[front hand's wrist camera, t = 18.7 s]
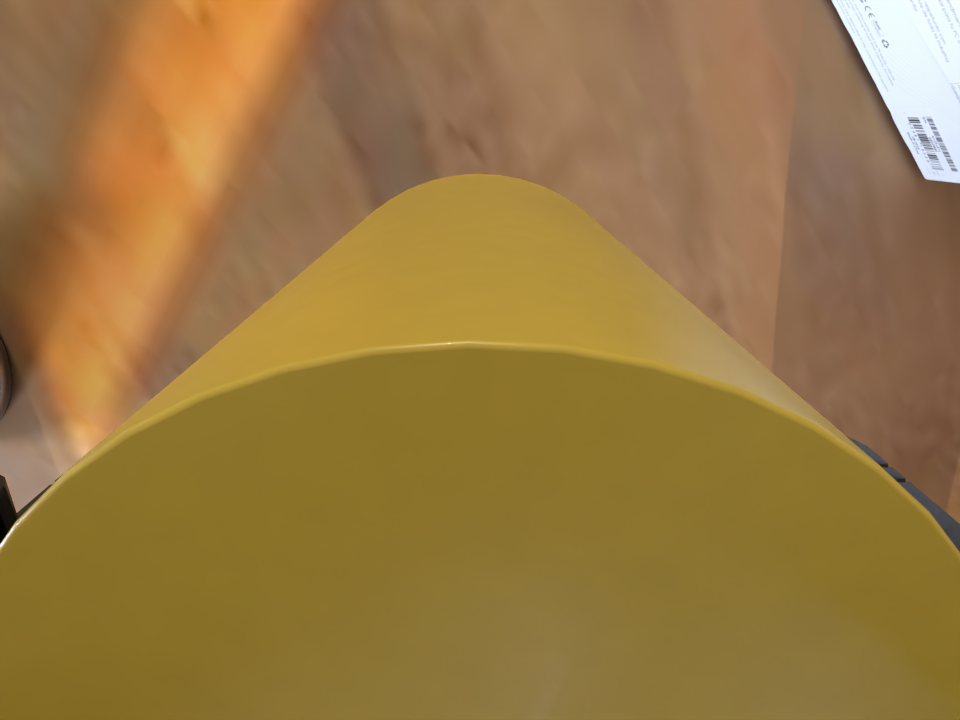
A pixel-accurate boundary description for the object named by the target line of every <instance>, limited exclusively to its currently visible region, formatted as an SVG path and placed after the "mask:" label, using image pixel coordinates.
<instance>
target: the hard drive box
mask: <svg viewBox="0 0 960 720" xmlns="http://www.w3.org/2000/svg"><path fill="white" fill-rule="evenodd" d="M832 2H833V4H834V6H835V8H836V9H837V11H838V13H839V15H840V17H841V19H842V21H843V23H844V25H845V27H846V28H847V30H848V32H849V33H850V35H851V37H852V39H853V41H854V43H855V45H856V47H857V49H858V51H859V53H860V55H861V57H862V59H863V61H864V63H865V65H866V67H867V69H868V71H869V72H870V74H871V76H872V78H873V80H874V82H875V84H876V86H877V88H878V90H879V92H880V94H881V96H882V98H883V100H884V102H885V104H886V105H887V107H888V109H889V111H890V112H891V115H892V118H893V121H894V122H895V124H896V126H897V128H898V130H899V132H900V134H901V136H902V138H903V139H904V141H905V143H906V144H907V146H908V148H909V149H910V151H911V153H912V155H913V157H914V159H915V161H916V163H917V165H918V167H919V169H920V170H921V172H922V174H923V176H924V178H925V179H928V180H936V181H945V182H953V183H960V0H832Z"/></svg>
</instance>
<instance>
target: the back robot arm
mask: <svg viewBox="0 0 960 720" xmlns="http://www.w3.org/2000/svg"><path fill="white" fill-rule="evenodd" d="M10 393H11V371H10V365H9V360H8V356H7V353H6V350H5V348H4V345H3V343H2V340H1V338H0V420H1V418H2V417H3V415H4V413H5V411H6V408H7V406H8V403H9V398H10Z"/></svg>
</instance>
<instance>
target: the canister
mask: <svg viewBox="0 0 960 720" xmlns="http://www.w3.org/2000/svg"><path fill="white" fill-rule="evenodd" d="M0 720H960V552H959V550H958V549H957V548H956V546H955V545H954V544H953V542H952V541H951V540H950V538H949V537H948V536H947V534H946V533H945V532H944V530H943V529H942V528H941V526H940V525H939V524H938V522H937V521H936V520H935V518H934V517H933V516H932V514H931V513H930V512H929V511H928V510H927V509H926V508H925V507H924V506H923V505H922V504H921V503H919V502H918V501H917V500H916V499H915V498H914V497H913V496H912V495H911V494H910V493H909V492H908V491H907V490H906V489H904V488H903V487H902V486H901V485H900V484H899V483H898V482H897V481H896V480H895V479H894V478H893V477H892V476H890V475H889V474H888V473H887V472H886V471H885V470H884V469H883V468H882V467H881V466H880V465H879V464H878V463H876V462H875V461H874V460H873V459H872V458H871V457H869V456H868V455H867V454H866V453H865V452H864V451H862V450H861V449H860V448H859V447H858V446H857V445H855V444H854V443H853V442H852V441H851V440H850V439H849V438H847V437H846V436H845V435H844V434H843V433H842V432H840V431H839V430H838V429H837V428H836V427H835V426H833V425H832V424H831V423H830V422H829V421H828V420H826V419H825V418H824V417H823V416H822V415H821V414H819V413H818V412H817V411H816V410H815V409H814V408H812V407H811V406H810V405H809V404H808V403H807V402H806V401H804V400H803V399H802V398H801V397H800V396H799V395H797V394H796V393H795V392H794V391H793V390H792V389H790V388H789V387H788V386H787V385H786V384H785V383H783V382H782V381H781V380H780V379H779V378H778V377H776V376H775V375H774V374H773V373H772V372H771V371H769V370H768V369H767V368H766V367H765V366H764V365H763V364H761V363H760V362H759V361H758V360H757V359H756V358H754V357H753V356H752V355H751V354H750V353H749V352H747V351H746V350H745V349H744V348H743V347H742V346H740V345H739V344H738V343H737V342H736V341H735V340H733V339H732V338H731V337H730V336H729V335H728V334H726V333H725V332H724V331H723V330H722V329H721V328H720V327H718V326H717V325H716V324H715V323H714V322H713V321H711V320H710V319H709V318H708V317H707V316H706V315H704V314H703V313H702V312H701V311H700V310H699V309H697V308H696V307H695V306H694V305H693V304H692V303H690V302H689V301H688V300H687V299H686V298H685V297H683V296H682V295H681V294H680V293H679V292H678V291H677V290H675V289H674V288H673V287H672V286H671V285H670V284H668V283H667V282H666V281H665V280H664V279H663V278H661V277H660V276H659V275H658V274H657V273H656V272H654V271H653V270H652V269H651V268H650V267H649V266H647V265H646V264H645V263H644V262H643V261H642V260H640V259H639V258H638V257H637V256H636V255H635V254H634V253H632V252H631V251H630V250H629V249H628V248H627V247H625V246H624V245H623V244H622V243H621V242H620V241H618V240H617V239H616V238H615V237H614V236H613V235H611V234H610V233H609V232H608V231H607V230H606V229H604V228H603V227H602V226H601V225H600V224H599V223H597V222H596V221H595V220H594V219H593V218H592V217H591V216H589V215H588V214H587V213H586V212H585V211H584V210H582V209H581V208H579V207H578V206H577V205H575V204H574V203H572V202H571V201H569V200H568V199H566V198H565V197H563V196H561V195H559V194H557V193H555V192H553V191H551V190H549V189H547V188H545V187H543V186H540V185H537V184H534V183H532V182H529V181H526V180H523V179H518V178H513V177H507V176H502V175H490V174H468V175H456V176H450V177H446V178H441V179H437V180H432V181H429V182H427V183H424V184H421V185H418V186H416V187H413V188H410V189H409V190H407V191H405V192H403V193H401V194H399V195H397V196H396V197H394V198H392V199H390V200H389V201H387V202H386V203H385V204H383V205H382V206H381V207H379V208H378V209H376V210H375V211H374V212H372V213H371V214H370V215H369V216H368V217H366V218H365V219H364V220H363V221H362V222H361V223H359V224H358V225H357V226H356V227H355V228H353V229H352V230H351V231H350V232H349V233H348V234H346V235H345V236H344V237H343V238H342V239H340V240H339V241H338V242H337V243H336V244H335V245H333V246H332V247H331V248H330V249H329V250H327V251H326V252H325V253H324V254H323V255H322V256H320V257H319V258H318V259H317V260H316V261H314V262H313V263H312V264H311V265H310V266H309V267H307V268H306V269H305V270H304V271H303V272H301V273H300V274H299V275H298V276H297V277H296V278H294V279H293V280H292V281H291V282H290V283H288V284H287V285H286V286H285V287H284V288H283V289H281V290H280V291H279V292H278V293H277V294H275V295H274V296H273V297H272V298H271V299H269V300H268V301H267V302H266V303H265V304H264V305H262V306H261V307H260V308H259V309H258V310H256V311H255V312H254V313H253V314H252V315H251V316H249V317H248V318H247V319H246V320H245V321H243V322H242V323H241V324H240V325H239V326H238V327H236V328H235V329H234V330H233V331H232V332H230V333H229V334H228V335H227V336H226V337H225V338H223V339H222V340H221V341H220V342H219V343H217V344H216V345H215V346H214V347H213V348H212V349H210V350H209V351H208V352H207V353H206V354H204V355H203V356H202V357H201V358H200V359H199V360H197V361H196V362H195V363H194V364H193V365H191V366H190V367H189V368H188V369H187V370H186V371H184V372H183V373H182V374H181V375H180V376H178V377H177V378H176V379H175V380H174V381H173V382H171V383H170V384H169V385H168V386H167V387H165V388H164V389H163V390H162V391H161V392H159V393H158V394H157V395H156V396H155V397H154V398H152V399H151V400H150V401H149V402H148V403H146V404H145V405H144V406H143V407H142V408H141V409H139V410H138V411H137V412H136V413H135V414H133V415H132V416H131V417H130V418H129V419H128V420H126V421H125V422H124V423H123V424H122V425H120V426H119V427H118V428H117V429H116V430H115V431H113V432H112V433H111V434H110V435H109V436H107V437H106V438H105V439H104V440H103V441H102V442H100V443H99V444H98V445H97V446H96V447H94V448H93V449H92V450H91V451H90V452H89V453H87V454H86V455H85V456H84V457H83V458H81V459H80V460H79V461H78V462H77V463H76V464H74V465H73V466H72V467H71V468H70V469H68V470H67V471H66V472H65V473H64V474H63V475H62V476H61V477H60V478H59V479H58V480H57V481H56V482H55V483H54V484H53V485H52V486H51V487H50V488H49V489H48V490H47V491H46V492H45V493H44V494H43V495H42V496H41V497H40V498H39V499H38V500H37V501H36V502H35V503H34V504H33V505H32V506H31V507H30V508H29V509H28V510H27V511H26V512H25V513H24V514H23V515H22V516H21V517H20V518H19V519H18V520H17V521H16V522H15V523H14V525H13V526H12V528H11V529H10V530H9V532H8V533H7V535H6V536H5V538H4V539H3V541H2V542H1V543H0Z"/></svg>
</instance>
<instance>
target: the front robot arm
mask: <svg viewBox="0 0 960 720" xmlns="http://www.w3.org/2000/svg"><path fill="white" fill-rule="evenodd" d="M846 437H847V436H846ZM847 438H849V437H847ZM849 439H850V440H851V441H852V442H853V443H854V444H855V445H857V446H858V447H859V448H860V449H861V450H862V451H864V452H865V453H866V454H867V455H868V456H869V457H871V458H872V459H873V460H874V461H875V462H876V463H878V464H879V465H880V466H881V467H882V468H883V469H884V470H885V471H886V472H887V473H888V474H889V475H890V476H892V477H893V478H894V479H895V480H896V481H897V482H898V483H899V484H900V485H901V486H902V487H903V488H904V489H906V490H907V491H908V492H909V493H910V494H911V495H912V496H913V497H914V498H915V499H916V500H917V501H918V502H919V503H921V504H922V505H923V506H924V507H925V508H926V509H927V510H928V511H929V512H930V513H931V514H932V516H933V517H934V518H935V520H936V521H937V522H938V524H939V525H940V526H941V528H942V529H943V530H944V532H945V533H946V534H947V536H948V537H949V538H950V540H951V541H952V542H953V544H954V545H955V546H956V548H957V549H958V550H959V552H960V524H959V523H958V522H956V521H955V520H954V519H953V518H952V517H950V516H949V515H948V514H947V513H946V512H944V511H943V510H942V509H941V508H940V507H939V506H937V505H936V504H935V503H934V502H933V501H931V500H930V499H929V498H928V497H927V496H925V495H924V494H923V493H922V492H921V491H920V490H918V489H917V488H916V487H915V486H914V485H912V484H911V483H910V482H906V481H905V478H904V477H903V476H902V475H901V474H899V473H898V472H897V471H896V470H895V469H893V468H892V467H888V464H887V463H886V462H885V461H884V460H883V459H882V458H880V457H879V456H878V455H877V454H876V453H874V452H873V451H872V450H871V449H870V448H868V447H867V446H865V445H863V444H861V443H859V442H857V441H855V440H853V439H851V438H849ZM88 453H89V452H88ZM82 458H83V457H82ZM75 464H76V463H75ZM62 475H63V474H62ZM62 475H61V476H62ZM61 476H60V477H61ZM60 477H59V478H60ZM59 478H58V479H59ZM58 479H57V480H58ZM57 480H55V482H56V481H57ZM51 486H52V485H49V486H48V487H47V488H46V489H45V490H44V491H42V492H41V493H40V494H39V495H38V496H37V497H35V498H34V499H33V500H32V501H31V502H29V503H28V504H27V505H26V506H25V507H24V508H22V509H21V510H20V511H19V512H18V513H16V510H15V507H14V504H13V501H12V498H11V495H10V492H9V489H8V486H7V483H6V480H5V477H3V476H1V475H0V543H1V542H2V541H3V539H4V538H5V536H6V535H7V533H8V532H9V530H10V529H11V528H12V526H13V525H14V523H15V522H16V521H17V520H18V519H19V518H20V517H21V516H22V515H23V514H24V513H25V512H26V511H27V510H28V509H29V508H30V507H31V506H32V505H33V504H34V503H35V502H36V501H37V500H38V499H39V498H40V497H41V496H42V495H43V494H44V493H45V492H46V491H47V490H48V489H49V488H50V487H51Z"/></svg>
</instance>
